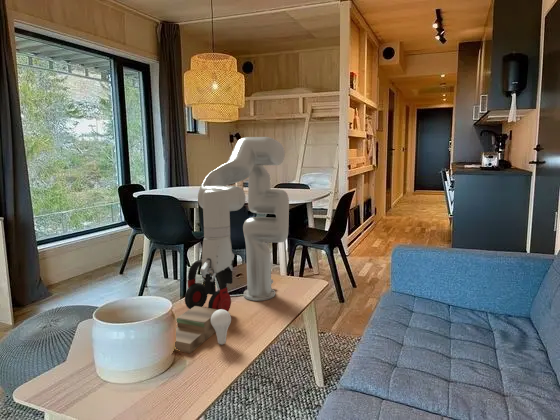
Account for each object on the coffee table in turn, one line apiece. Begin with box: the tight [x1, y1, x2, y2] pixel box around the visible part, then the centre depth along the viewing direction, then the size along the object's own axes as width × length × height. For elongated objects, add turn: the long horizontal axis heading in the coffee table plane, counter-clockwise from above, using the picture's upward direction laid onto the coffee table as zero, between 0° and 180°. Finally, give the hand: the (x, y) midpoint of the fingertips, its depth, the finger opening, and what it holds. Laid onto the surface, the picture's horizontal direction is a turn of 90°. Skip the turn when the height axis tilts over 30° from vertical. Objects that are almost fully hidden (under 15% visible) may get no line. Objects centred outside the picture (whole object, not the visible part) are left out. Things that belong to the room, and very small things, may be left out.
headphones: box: [184, 258, 232, 312], centre depth 144 cm, size 18×10×20 cm, turn 53°
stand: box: [175, 306, 217, 354], centre depth 128 cm, size 18×10×6 cm, turn 158°
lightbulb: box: [211, 309, 232, 346], centre depth 123 cm, size 6×6×11 cm
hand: (219, 288), depth 120 cm, fingers open, 9 cm apart
